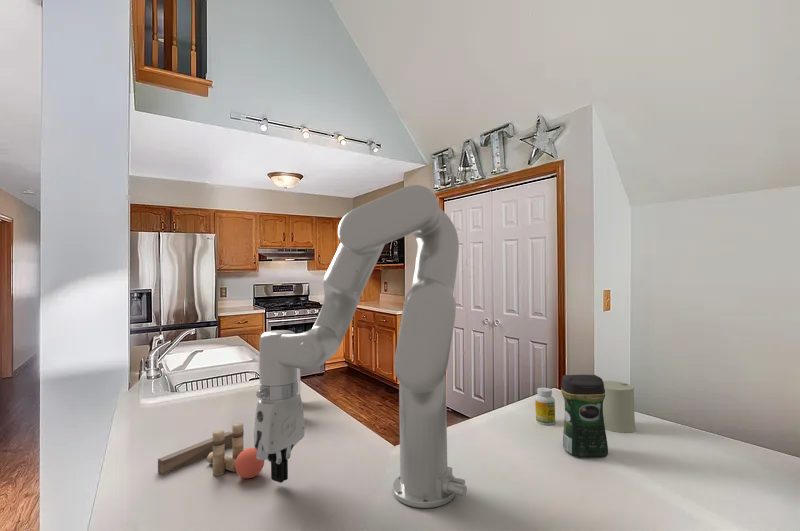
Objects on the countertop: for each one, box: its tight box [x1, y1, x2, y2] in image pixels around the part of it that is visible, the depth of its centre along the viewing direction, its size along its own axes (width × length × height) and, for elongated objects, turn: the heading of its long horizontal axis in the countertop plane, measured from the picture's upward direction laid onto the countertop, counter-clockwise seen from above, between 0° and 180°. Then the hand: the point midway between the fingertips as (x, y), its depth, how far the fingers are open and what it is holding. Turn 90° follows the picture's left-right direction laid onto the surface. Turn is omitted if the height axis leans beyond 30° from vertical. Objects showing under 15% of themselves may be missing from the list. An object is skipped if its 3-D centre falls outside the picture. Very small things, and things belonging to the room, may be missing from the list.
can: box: [603, 380, 637, 434], centre depth 112 cm, size 9×9×12 cm
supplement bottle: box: [534, 387, 556, 426], centre depth 116 cm, size 5×5×10 cm
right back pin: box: [231, 422, 245, 459], centre depth 93 cm, size 2×2×9 cm
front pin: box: [206, 452, 237, 473], centre depth 91 cm, size 2×2×9 cm
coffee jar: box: [560, 374, 609, 459], centre depth 96 cm, size 10×8×19 cm
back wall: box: [157, 431, 232, 475], centre depth 97 cm, size 2×18×3 cm, turn 150°
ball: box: [235, 447, 265, 479], centre depth 87 cm, size 6×6×6 cm
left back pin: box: [212, 429, 226, 477], centre depth 89 cm, size 2×2×9 cm
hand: (279, 479), depth 82 cm, fingers closed
